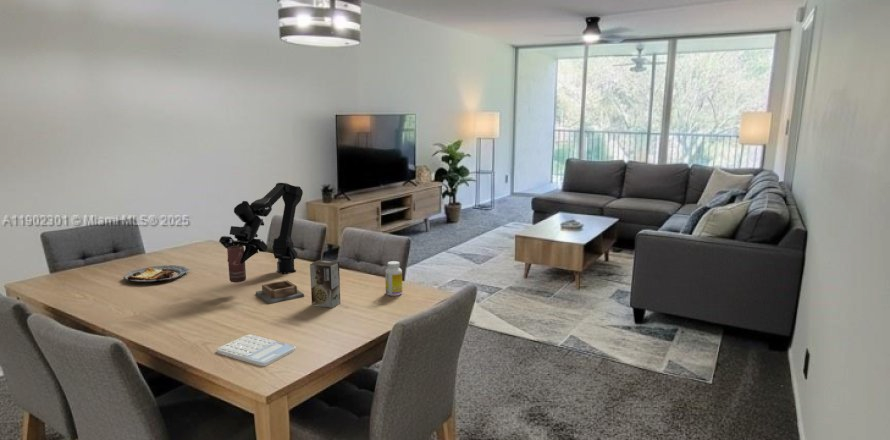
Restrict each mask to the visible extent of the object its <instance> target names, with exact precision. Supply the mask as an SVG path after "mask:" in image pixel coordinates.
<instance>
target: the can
mask: <svg viewBox="0 0 890 440" xmlns="http://www.w3.org/2000/svg"><path fill="white" fill-rule="evenodd" d="M226 250H227V264H228V276H229V277H228V279H229V281H230V283H234V284H236V283H242V282H245V281H246V280H247V273H246V272H247V271H246V270H247V269H246V261H245V262H244V263H242V264H241V263H240V261H241V259H242V257H243V254H244V251H245V246H243V245H240V244H236V245H230V246H228V248H226Z"/></svg>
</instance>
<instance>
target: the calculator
mask: <svg viewBox="0 0 890 440" xmlns="http://www.w3.org/2000/svg"><path fill="white" fill-rule="evenodd" d="M296 348H297V347H296V346H295V345H292V344H290V343H285V342H281V341H277V340H274V339H270V338H266V337H263V336H259V335H255V334H249V333H248V334H246V335H244V336H242V337H239V338H238V339H235V340H232V341H230V342H228V343H226V344H223V345H220V346H219V347H217V348H216V353H217V354H220V355H222V356H223V355H224V356H226V357H229V358H232V359H235V360H239V361H243V362H246V363H249V364H253V365H255V366H256V365H257V366H260V367H267V366H269V365H271V364H272V363H275V362H277V361H279V360H280V359H282V358H284V357H286V356H288V355H289V354H292V353H294V352H295V351H296Z"/></svg>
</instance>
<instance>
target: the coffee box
mask: <svg viewBox="0 0 890 440" xmlns="http://www.w3.org/2000/svg"><path fill="white" fill-rule="evenodd" d="M309 273H310V276H309V277H310V291H311V293H310V294H311V306H315V307H324V308H331V309H332V308H335V307H336V306H339V304H341V283H340V281H341V280H340V279H341V278H340V276H341V275H340V261H333V260H322V259H321V260H320V259H318V260H316V261H313V262H311V263H310V264H309Z"/></svg>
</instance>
